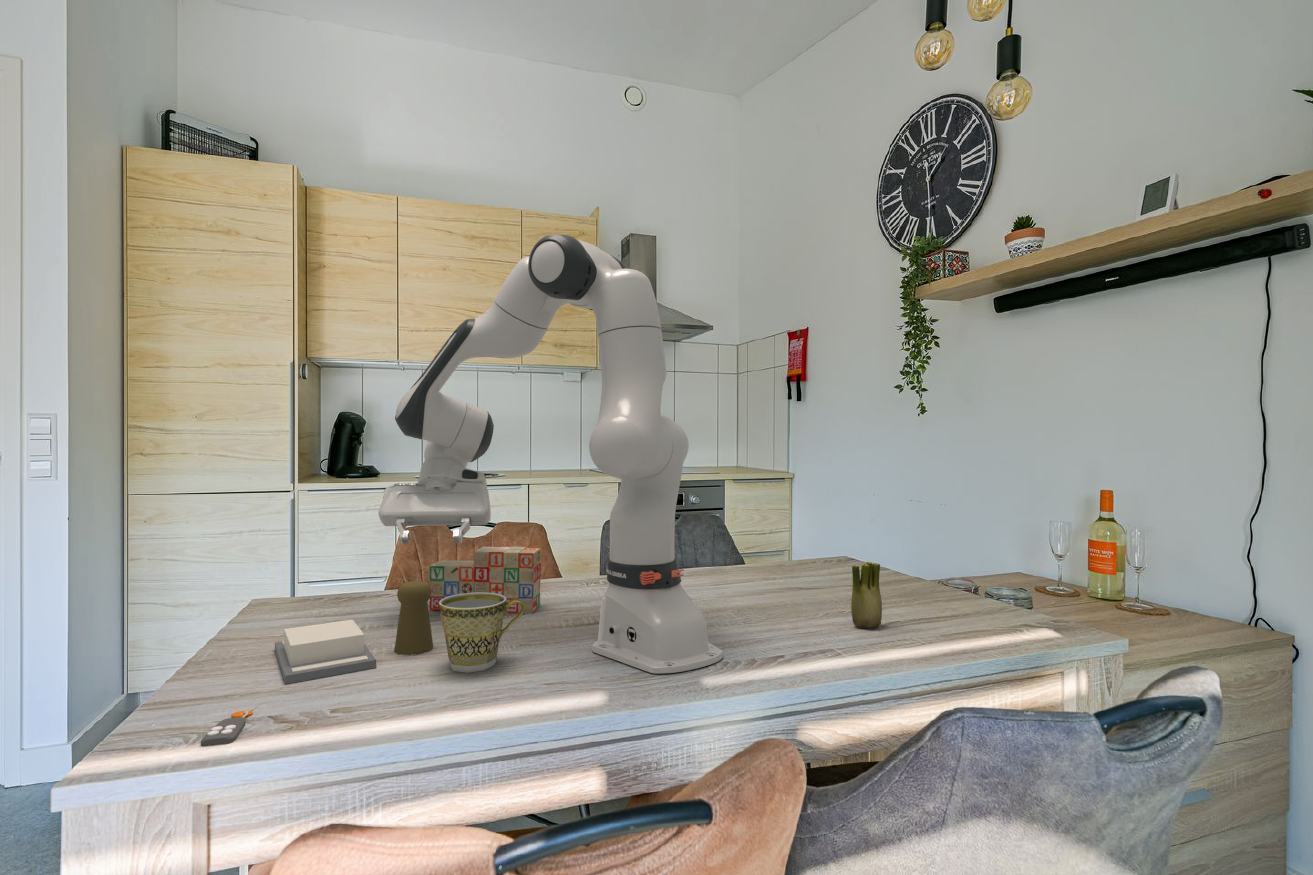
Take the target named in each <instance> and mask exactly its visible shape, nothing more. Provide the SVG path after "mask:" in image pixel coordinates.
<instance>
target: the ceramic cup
mask: <svg viewBox="0 0 1313 875" xmlns="http://www.w3.org/2000/svg"><path fill="white" fill-rule="evenodd" d="M506 600H507V599H506V597H505V596H503V595H500V594H496V593H483V592H478V593H464V594H458V595H453V596H449V597H446V598H444V599H442V600H440V601H439V609H440V611H439V615H440V620H441V624H442V629H443V632H444V640H445V644H446V650H447V656H448V662H449V666H451V667H450V668H451V670H452V671H453V672H458V673H467V674H470V673H475V672H483V671H487V670H488V669H490V668H491V667H493V666H495V665H496V663H497V658H498V657H497V655H498V651H499V644H500V640H501V638H502V636H503V635H504V633H505V632H506V631H508V629H509V628H510V627H511V626H512V625H513V624H514V623H515V622H516V621H517V620H518V619H519V618H520V617H521V616H522V615H523V614H524V613H523V612H524V604H523V602H522V601H521V600H518V599H512V600H510V601H508V602H507V603H506ZM514 603H520V604H521V606H522V609H521V612H520V613H517V615H516V616H515V617H514V618H513V619H511V621H509V622H508V624H507V625H506V626H505V627H504V628H503V622H504V617H505V615H506V614H507V613H506V611H507V609H508V608H509V607H510V606H511V605H513V604H514Z"/></svg>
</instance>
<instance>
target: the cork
mask: <svg viewBox="0 0 1313 875" xmlns="http://www.w3.org/2000/svg"><path fill="white" fill-rule="evenodd" d="M396 594H397V595H396V596H397V600H398V602H399V603H400V607H399V615H398V623H397V631H396V637H395V643H394V650H393V651H394V653H395V652H396V653H395V654H397V653H398V654H397V655H400V654H408V655H407V656H412V655H411V654H413V656H415V655H414V654H416V655H420V654H421V653H422V654H424V652H425V653H428V652H429V651H432V650H433V649H434V642H433V634H432V627H431V625H432V624H431V620H430V610H429V604H428V601H430V595H431V588H430V583H428V582H426V581H421V580H411V581H408V582H404V583H402V584H400V585H399V587H398V589H397V592H396Z"/></svg>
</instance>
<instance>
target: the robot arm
mask: <svg viewBox="0 0 1313 875" xmlns="http://www.w3.org/2000/svg"><path fill="white" fill-rule="evenodd" d="M567 304H569V305H571V306H574V307H577V308H582V309H587V310H589V311H593V313H594V318H595V321H596V322H595V323H596V333H597V334H596V335H597V342H598V350H599V351H598V352H599V361H600V362H599V363H600V369H601V394H600V395H601V396H600V404H599V413H598V419H597V423H596V424H595V426H594V428H593V430H592V432H591V434H590V437H589V441H588V442H589V443H588V444H589V445H588V448H589V449H588V450H589V454H590V457H591V461H592V462H593V464H594V465H595V467H596V468H597V469H598V470H599V471H601V472H602V473H604V474H605V475H607V476H610V477H613V478H616V479H619V480H620V485H619V490H618V494H617V498H616V501H615V502H614V505H613V506H612V509H611V511H610V513H609V558H608V559H607V561H606V568H605V569H606V570H605V572H606V580H607V582H608V586H607V589H606V592H605V593H604V595H603V596H602V598H601V601H600V612H599V620H598V621H599V622H598V635H597V640H596V641H595V642H593V643H592V645H591V646H592V647H591V652H593V653H595V654H598V655H601V656H604V657H606V658H609V659H612V660H615V661H617V662H621V663H623V664H625V665H628V666H631V667H634V668H637V669H639V670H642V671H645V672H646V673H647V672H648V673H651V674H673V673H680V672H686V671H691V670H695V669H700V668H703V667H706V666H709V665H713V664H715V663H717V662H719V661H721V660H722V659H723V658H724V652H723V650H722V649H720V648H719V647H717V646H716V645H715V644H713V643H711V642H710V641H709V636H708V626H707V624H708V623H707V620H706V618H705V613H704V611H703V610H702V609H701V608H698V607H697V605H696V604H695V602H694V601H693V600H692V598H691V597H690V596H689V595H688V593H687V591H685V589H684V588H683V585H682V584H681V582H682V578H681V577H684V576H685V574H681V573H682V572H684V571H685V569H684V568H681V569H680V567H679V565H678V562H677V559H676V558H675V541H676V540H675V536H676V534H675V533H676V532H675V531H676V530H675V528H676V509H677V504H678V503H677V502H678V496H679V491H680V486H681V481H682V480H681V479H682V473H683V467H684V463H685V460H686V457H687V455H688V452H689V439H688V436H687V433H686V432H685V430H684V429H683V427H681V426H680V425H679V424H678V423H677V422H676V421H674V420H673V419H672V418H669V417H667V416H665V415H661V408H662V407H661V406H662V394H663V386H664V383H665V381H666V378H667V366H666V357H665V356H666V355H665V348H664V339H663V332H662V324H661V317H660V313H659V307H658V303H657V299H656V296H655V292H654V288H653V286H652V283H651V281H650V279H649V278H648V276H647V275H646V274H645V273H643V272H641V271H640V270H636V269H632V268H627V267H626V266H625V264H624V263H623V262H622V261H621V260H620V259H619V258H618V257H615V256H614V255H612V254H609V253H607V252H606V251H604V250H602V249H601V248H599V247H598V246H596V245H594V244H592V243H589V242H586V241H583V240H580V239H576V238H575V237H574V236H571V235H568V234H567V235H566V234H560V233H557V234H556V233H555V234H547V235H546V236H543V237H542V238H540V239H539V240H538V241H537V242H536V243H535V245H534V246H533V248H532V250H531V251H530V254H529V255H528V256H524V257H522V258H521V259H520V260H519V261H518V262H516V265H515V266H514V267H513V268H512V270H511V271H510V273H509V274H508V276H507V277H506V278H505V280H504V282H503V283H502V285H501V287H500V288H499V290H498V292H497V294H496V296H495V298H494V300H493V301H492V303H491V305H490V306H489V307H488V309H487V310H486V311H485V312H483V313H481V315H480V316H478V317H476V318H468V319H465V320H464V321H463V322H461V324H459V325H458V326H457V327H456V329H455V330H454V331H453V332H452V334H450V336H449V337H448V339H447V340H446V342H445V343H444V344H442V346H441V348H440V349H439V350H438V352H437V353H436V355H435V356H434V358H432V360H431V362H430V363H429V364H428V366H427V367H426V368H425V370H424V371H423V372H422V374H421V375H420V376H419V378H418V379H417V380H416V381H415V382H414V384H412V386H411V387H410V388H409V390H408V391H406V392H405V393H404V394H403V396H402V397H401V399H400V400H399V402H398V404H397V406H396V409H395V416H394V420H395V422H396V425H397V426H398V428H399V430H400V431H401V433H402V434H403V435H404V437H405V436H406V437H408V438H409V437H410V438H414V439H419V440H423V441H426V444H425V445H426V446H425V449H424V456H423V457H424V462H422V464H421V467H420V472H419V476H418V479H417V480H418V481H417V482H415V483H412V482H411V483H410V482H408V483H400V482H399V483H394V484H393V485H390V486H388V487H386V488H385V490H384V493H383V497H382V498H383V499H382V501H381V504H380V505H379V509H378V517H379V520H380V522H381V524H382V525H383V526H384V527H397V529H398V532H399V537H398V540H399V543H400V544H410V540H411V534H410V530H406V529H407V527H420V526H421V527H424V526H425V527H427V526H428V527H432V526H434V527H435V526H436V527H437V526H438V527H440V526H443V527H444V526H445V527H448V526H460V527H459V528H458V529H454V530H453V531H452V532H453V533H452V541H453V542H452V543H463V537H464V536H465V534H467V533H468V531H470V530H471V526H486V525H487V524H488V523H490V522H491V517H492V516H491V514H492V513H491V512H492V511H491V502H490V495H489V490H488V484H487V479H486V476H485V474H484V472H480V471H478V470H474V469H469V468H467V466H468V464H469V463H472V462H475V461H477V460H478V459H480V457H482V456H483V455H485V454H486V453H487V451H488V449H489V447H490V445H491V444H492V439H493V435H494V434H493V433H494V426H495V425H494V422H493V418H492V415H491V414H490V413H489V411H487V410H485V409H483V408H480V407H478V406H476V405H473V404H470V403H468V402H464V401H461V400H459V399H457V398H454V397H451V396H449V395H447V394H443V393H441V392H440V391H441V390H442V388H443V386H444V385H446V383H447V381H448V380H449V378H450V377H451V376H452V374H453V373H454V372H455V371H456V369H457V368H458V366H459V365H460V364H462V363H463V362H465V361H467V360H470V359H476V358H496V359H515V358H520V357H524V356H526V355H528V354H530V353H532V352H533V351H535V350H536V348H537V347H538V346H539V344H540V343H541V341H542V340H543V338H544V336H545V334H546V333H547V331H548V329H549V327H550V325H551V323H552V320H553V318H554V317H555V315H556V313H557V312H558V310H559V309H560V308H561V307H562V306H564V305H567Z"/></svg>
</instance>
